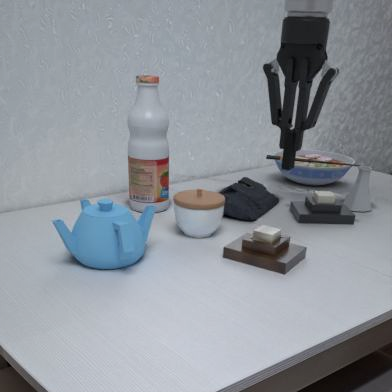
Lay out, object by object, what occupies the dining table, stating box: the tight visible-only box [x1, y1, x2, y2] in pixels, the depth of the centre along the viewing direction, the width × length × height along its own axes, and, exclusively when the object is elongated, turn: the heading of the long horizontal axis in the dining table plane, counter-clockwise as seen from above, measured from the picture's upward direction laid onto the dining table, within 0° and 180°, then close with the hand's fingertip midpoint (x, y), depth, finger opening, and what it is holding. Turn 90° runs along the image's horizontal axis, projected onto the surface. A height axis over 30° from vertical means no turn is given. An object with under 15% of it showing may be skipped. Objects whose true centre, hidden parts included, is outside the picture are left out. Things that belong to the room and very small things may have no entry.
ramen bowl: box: [265, 148, 361, 187], centre depth 143 cm, size 25×23×8 cm
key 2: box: [312, 190, 336, 204], centre depth 118 cm, size 4×4×2 cm
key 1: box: [252, 224, 282, 244], centre depth 95 cm, size 4×4×2 cm
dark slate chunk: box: [218, 176, 280, 222], centre depth 124 cm, size 15×22×5 cm
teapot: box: [51, 198, 156, 270], centre depth 92 cm, size 15×15×11 cm
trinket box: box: [172, 187, 225, 239], centre depth 105 cm, size 11×11×9 cm
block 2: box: [289, 195, 356, 225], centre depth 119 cm, size 13×10×4 cm
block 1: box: [222, 232, 308, 276], centre depth 97 cm, size 13×10×4 cm
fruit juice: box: [126, 74, 170, 213], centre depth 114 cm, size 9×9×28 cm
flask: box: [342, 165, 373, 213], centre depth 125 cm, size 7×7×10 cm
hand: (287, 168), depth 93 cm, fingers closed
